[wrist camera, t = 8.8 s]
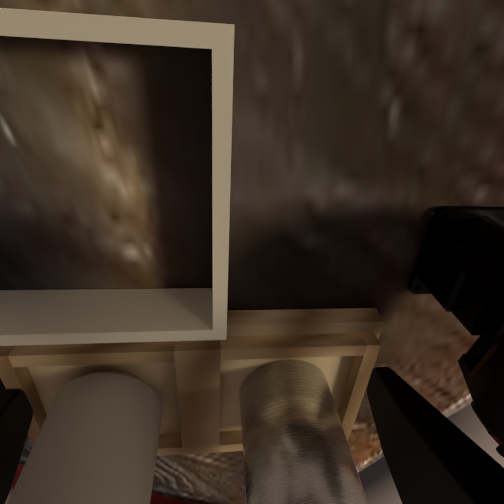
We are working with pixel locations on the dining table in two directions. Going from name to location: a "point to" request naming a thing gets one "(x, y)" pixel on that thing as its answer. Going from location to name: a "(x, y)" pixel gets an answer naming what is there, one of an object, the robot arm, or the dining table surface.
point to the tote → (212, 299)
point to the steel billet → (294, 438)
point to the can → (95, 444)
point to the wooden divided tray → (210, 370)
